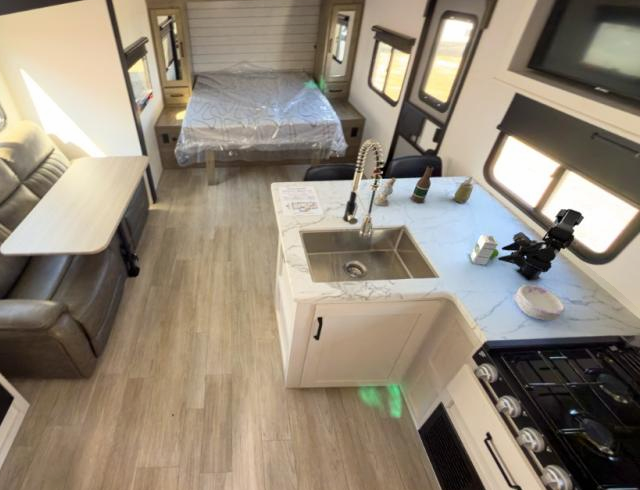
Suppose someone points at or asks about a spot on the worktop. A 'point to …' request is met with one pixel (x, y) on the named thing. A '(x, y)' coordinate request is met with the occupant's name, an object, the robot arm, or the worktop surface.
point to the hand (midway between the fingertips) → (500, 253)
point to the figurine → (385, 192)
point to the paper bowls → (539, 302)
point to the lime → (494, 254)
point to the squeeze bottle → (464, 191)
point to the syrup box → (483, 249)
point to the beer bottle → (422, 186)
